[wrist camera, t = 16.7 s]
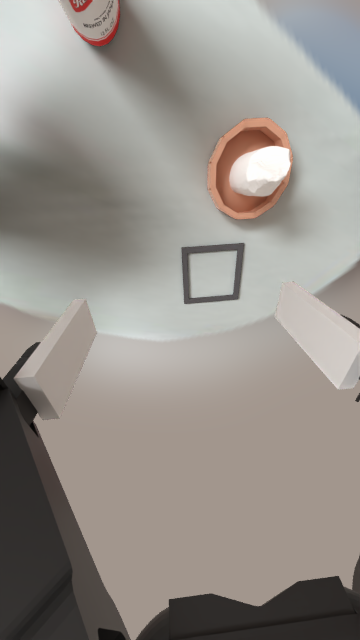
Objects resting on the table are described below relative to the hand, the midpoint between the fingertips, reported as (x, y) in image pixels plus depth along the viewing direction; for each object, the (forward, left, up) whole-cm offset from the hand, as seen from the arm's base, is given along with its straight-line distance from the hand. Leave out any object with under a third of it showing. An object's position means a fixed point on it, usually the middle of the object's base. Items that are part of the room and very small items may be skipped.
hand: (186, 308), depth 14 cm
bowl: (+13, +8, -29) cm, 33 cm away
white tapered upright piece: (+13, +8, -28) cm, 32 cm away
